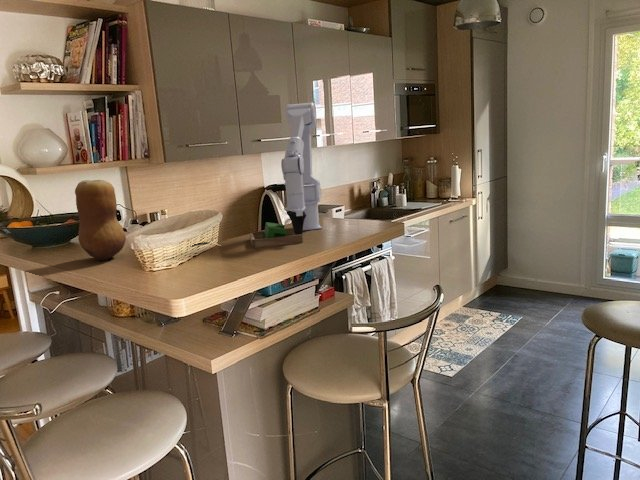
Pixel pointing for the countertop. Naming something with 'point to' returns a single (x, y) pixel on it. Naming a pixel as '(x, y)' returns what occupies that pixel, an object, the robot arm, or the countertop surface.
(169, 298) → the countertop surface
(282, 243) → the tray
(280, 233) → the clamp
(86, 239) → the butternut squash
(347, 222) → the countertop surface
